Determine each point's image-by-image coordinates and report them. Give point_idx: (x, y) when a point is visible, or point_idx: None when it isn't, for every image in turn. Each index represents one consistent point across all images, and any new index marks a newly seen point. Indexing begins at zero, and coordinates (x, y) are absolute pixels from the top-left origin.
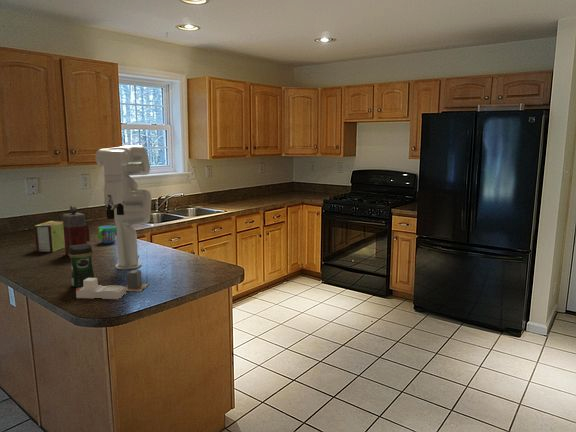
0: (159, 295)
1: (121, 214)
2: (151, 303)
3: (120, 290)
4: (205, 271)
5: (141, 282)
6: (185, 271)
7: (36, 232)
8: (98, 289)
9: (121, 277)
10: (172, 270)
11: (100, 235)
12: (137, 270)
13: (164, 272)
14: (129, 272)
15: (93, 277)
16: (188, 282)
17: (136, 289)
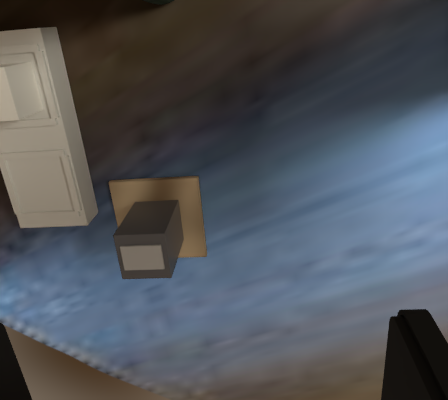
0: (115, 322)
1: (384, 391)
2: (42, 324)
3: (41, 225)
4: None
5: (180, 246)
6: None
7: None
8: (17, 130)
9: (304, 83)
10: (433, 271)
11: None
12: (159, 267)
13: (399, 249)
14: (127, 242)
15: (153, 1)
16: (268, 366)
17: None
